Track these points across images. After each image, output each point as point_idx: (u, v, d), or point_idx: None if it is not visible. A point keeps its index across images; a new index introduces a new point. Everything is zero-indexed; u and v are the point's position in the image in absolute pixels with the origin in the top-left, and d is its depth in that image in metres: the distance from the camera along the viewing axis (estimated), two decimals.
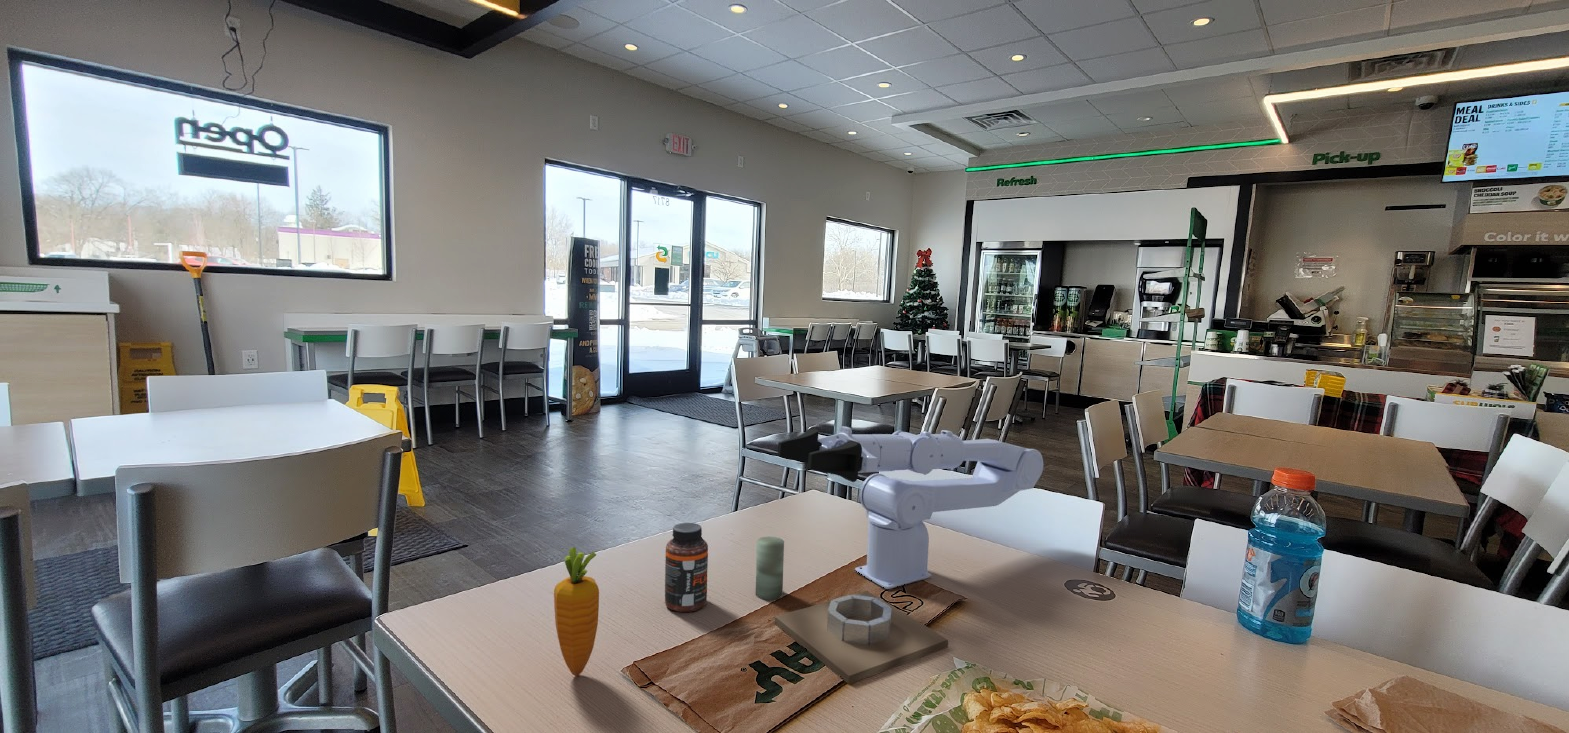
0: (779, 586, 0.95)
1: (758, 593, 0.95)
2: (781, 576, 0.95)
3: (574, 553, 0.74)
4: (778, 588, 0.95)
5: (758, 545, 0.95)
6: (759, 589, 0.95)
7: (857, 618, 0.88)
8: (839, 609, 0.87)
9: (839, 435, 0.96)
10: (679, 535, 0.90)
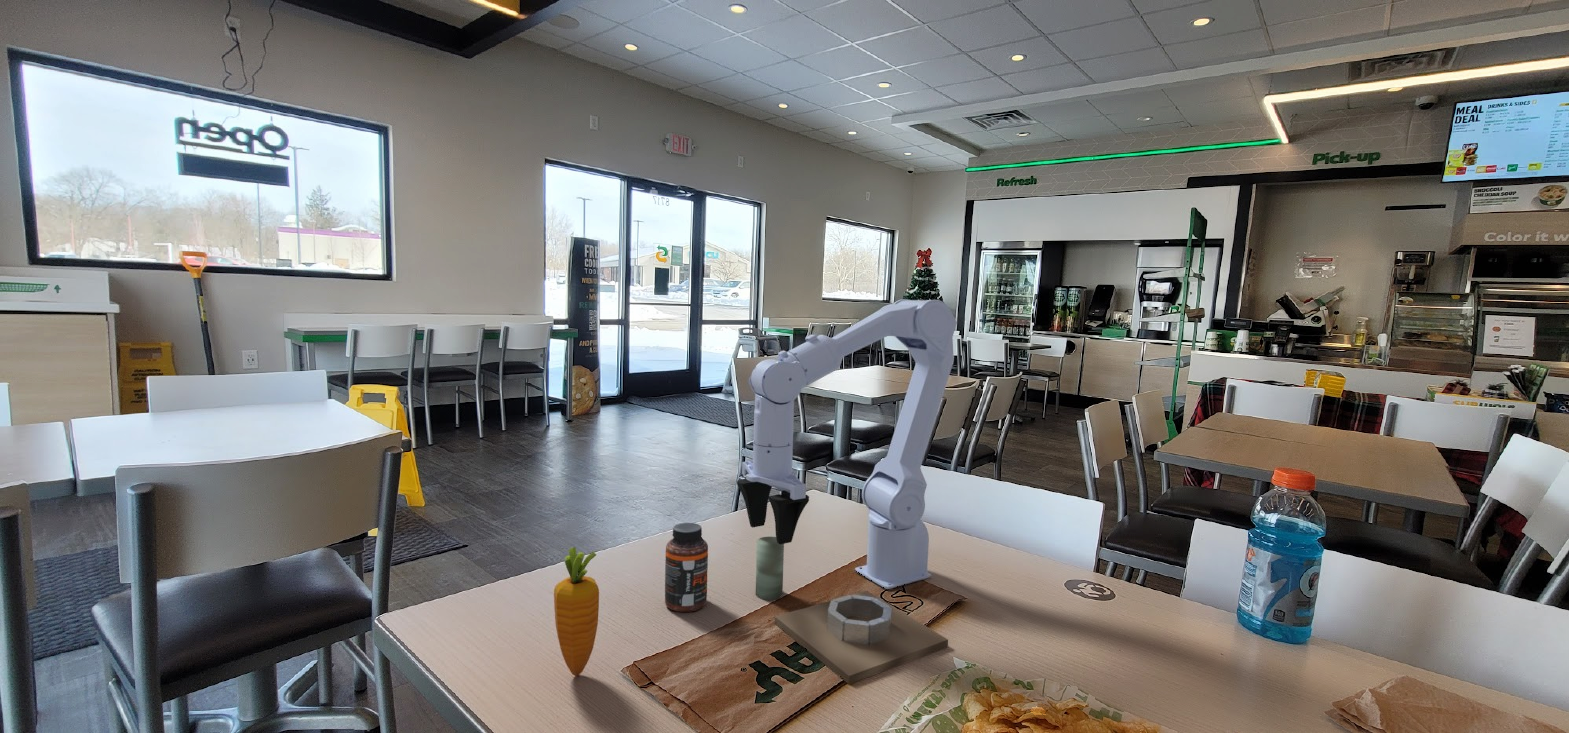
0: (779, 586, 0.95)
1: (758, 593, 0.95)
2: (781, 576, 0.95)
3: (574, 553, 0.74)
4: (778, 588, 0.95)
5: (758, 545, 0.95)
6: (759, 589, 0.95)
7: (857, 618, 0.88)
8: (839, 609, 0.87)
9: None
10: (679, 535, 0.90)
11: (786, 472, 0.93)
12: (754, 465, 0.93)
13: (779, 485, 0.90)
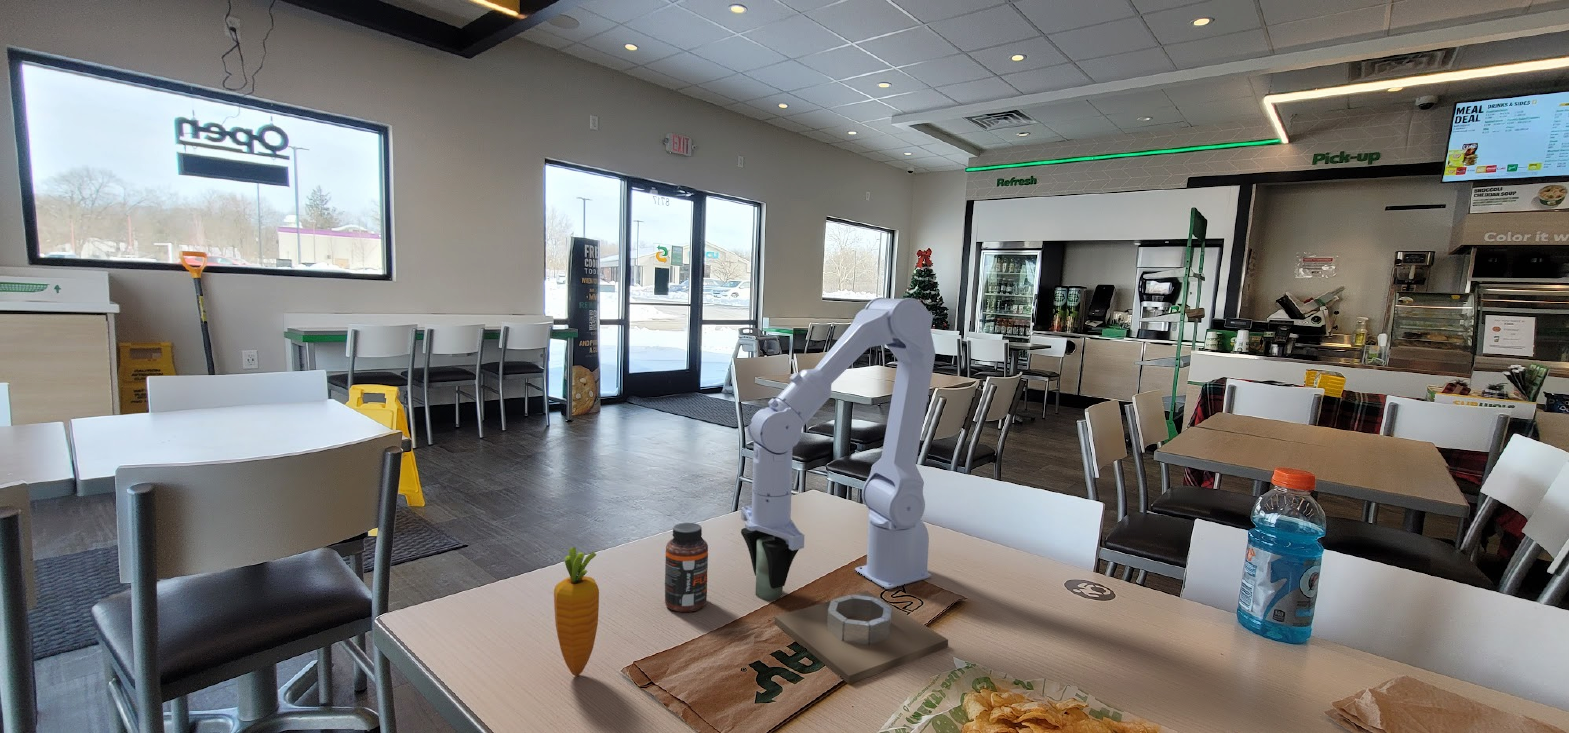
0: None
1: (758, 593, 0.95)
2: None
3: (573, 553, 0.74)
4: (778, 588, 0.95)
5: (758, 545, 0.95)
6: (759, 589, 0.95)
7: (857, 618, 0.88)
8: (839, 609, 0.87)
9: None
10: (679, 535, 0.90)
11: (785, 521, 0.93)
12: (753, 513, 0.94)
13: (778, 535, 0.91)
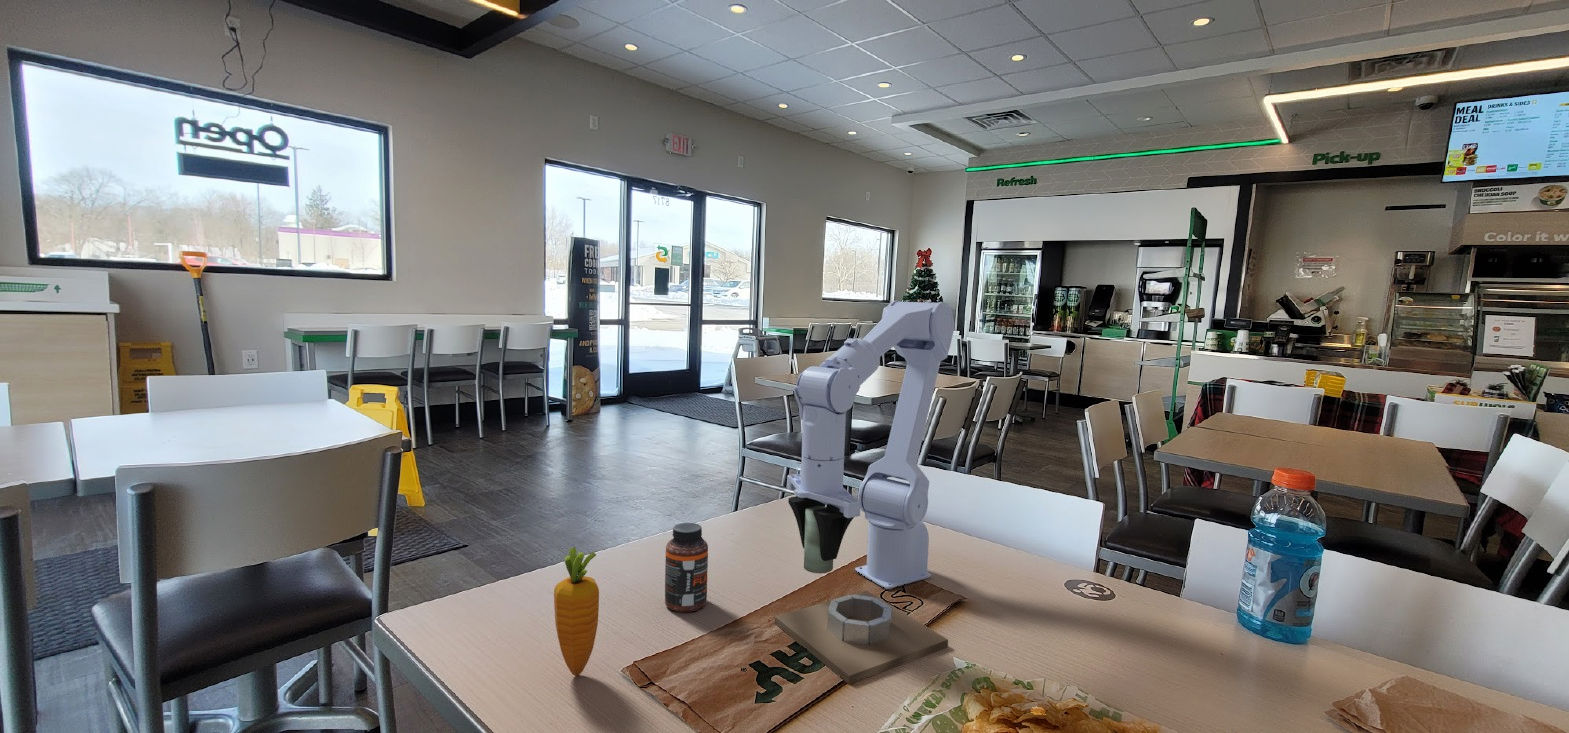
0: None
1: (807, 566, 0.88)
2: None
3: (573, 553, 0.74)
4: (829, 560, 0.88)
5: (807, 514, 0.88)
6: (808, 562, 0.88)
7: (857, 618, 0.88)
8: (839, 609, 0.87)
9: None
10: (679, 535, 0.90)
11: (838, 487, 0.86)
12: (803, 480, 0.87)
13: (831, 502, 0.84)
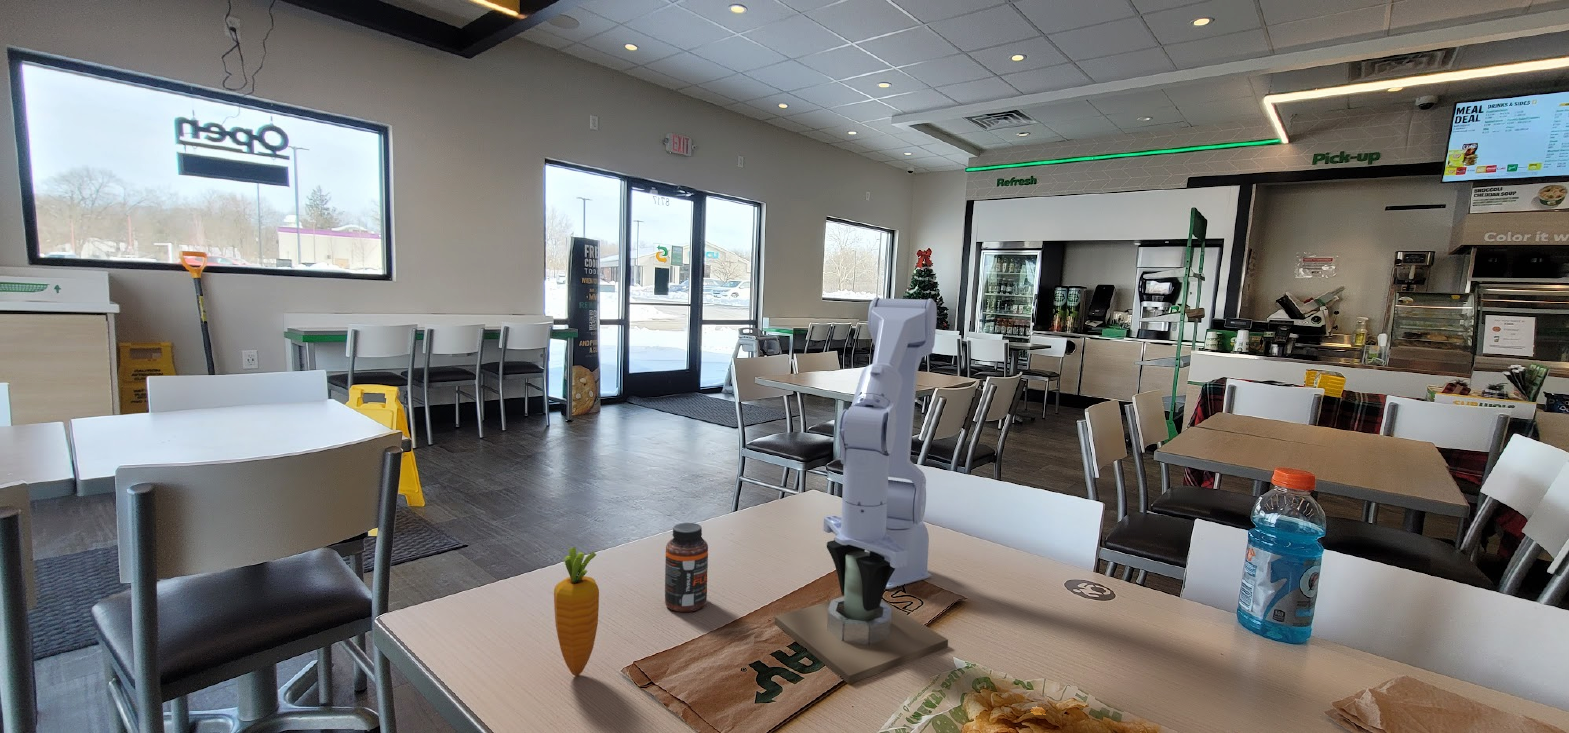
0: None
1: (848, 616, 0.84)
2: None
3: (573, 553, 0.74)
4: (871, 610, 0.83)
5: (848, 561, 0.83)
6: (849, 611, 0.83)
7: None
8: (839, 609, 0.87)
9: None
10: (679, 535, 0.90)
11: (881, 534, 0.82)
12: (844, 525, 0.82)
13: (876, 550, 0.79)
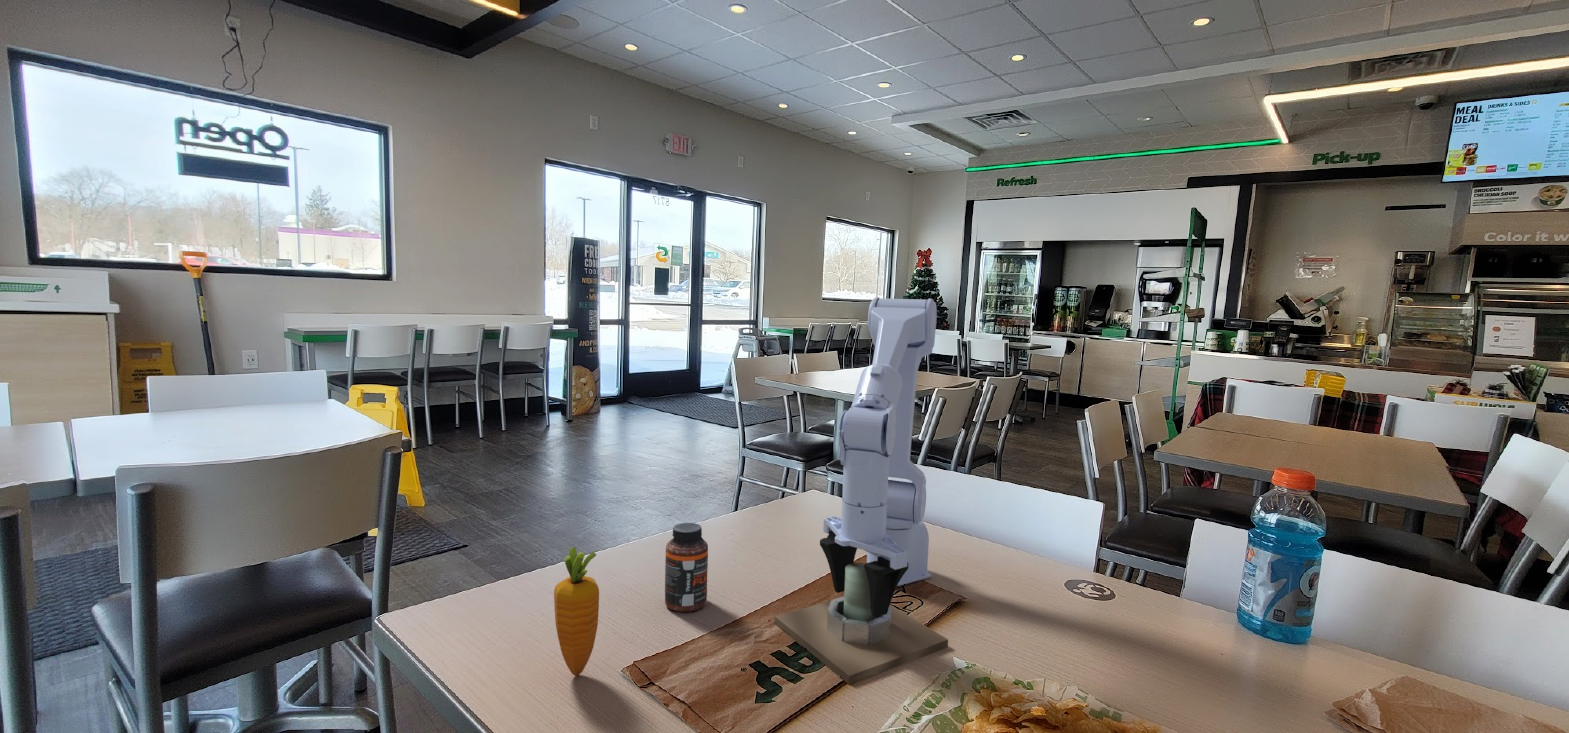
0: None
1: None
2: None
3: (574, 553, 0.74)
4: None
5: (848, 573, 0.83)
6: None
7: None
8: (839, 609, 0.87)
9: None
10: (679, 535, 0.90)
11: (881, 534, 0.82)
12: (844, 526, 0.83)
13: (876, 551, 0.79)
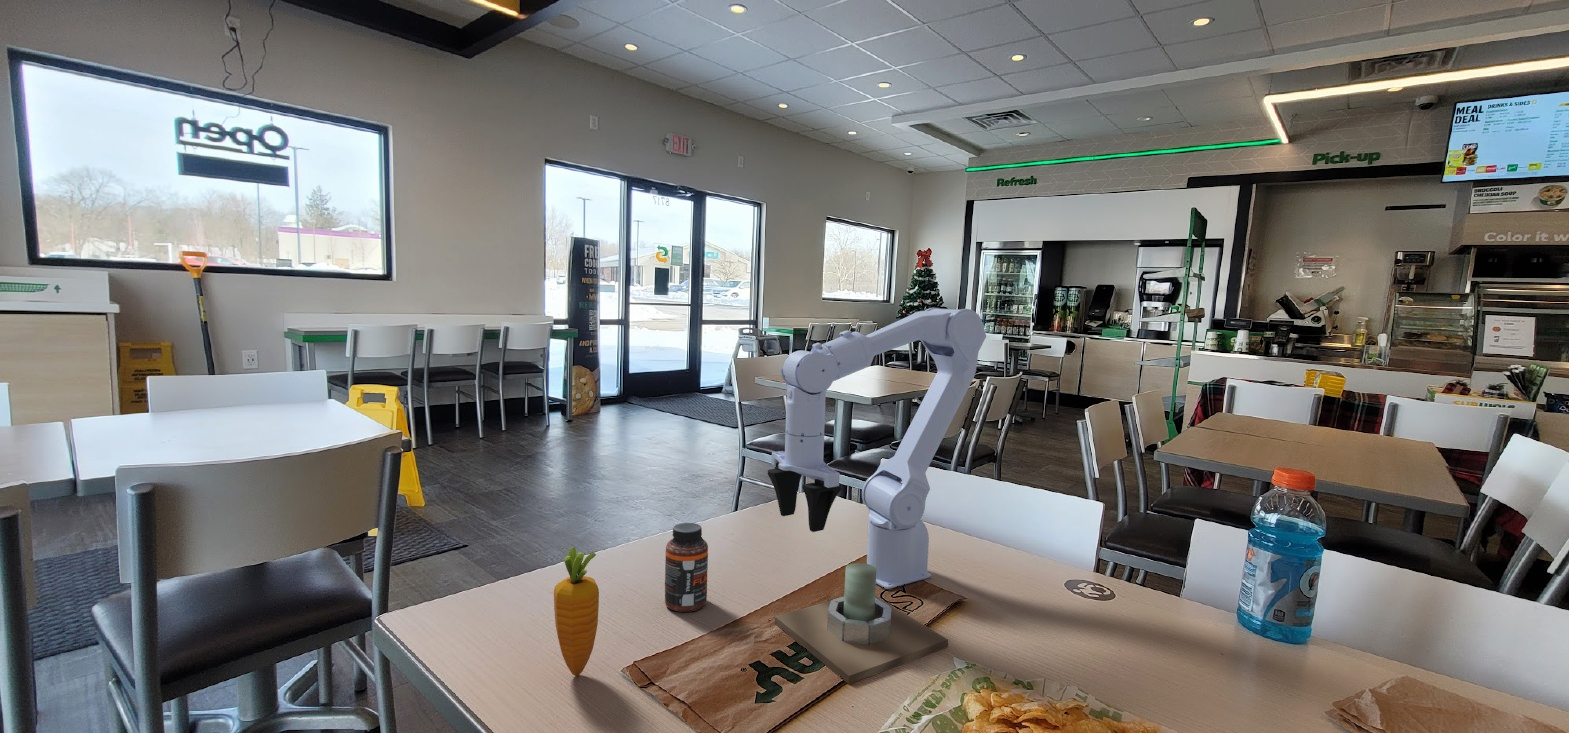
0: None
1: None
2: (873, 608, 0.84)
3: (573, 553, 0.74)
4: None
5: (848, 573, 0.83)
6: None
7: None
8: (839, 609, 0.87)
9: None
10: (679, 535, 0.90)
11: (818, 461, 0.94)
12: (786, 454, 0.95)
13: (813, 473, 0.92)
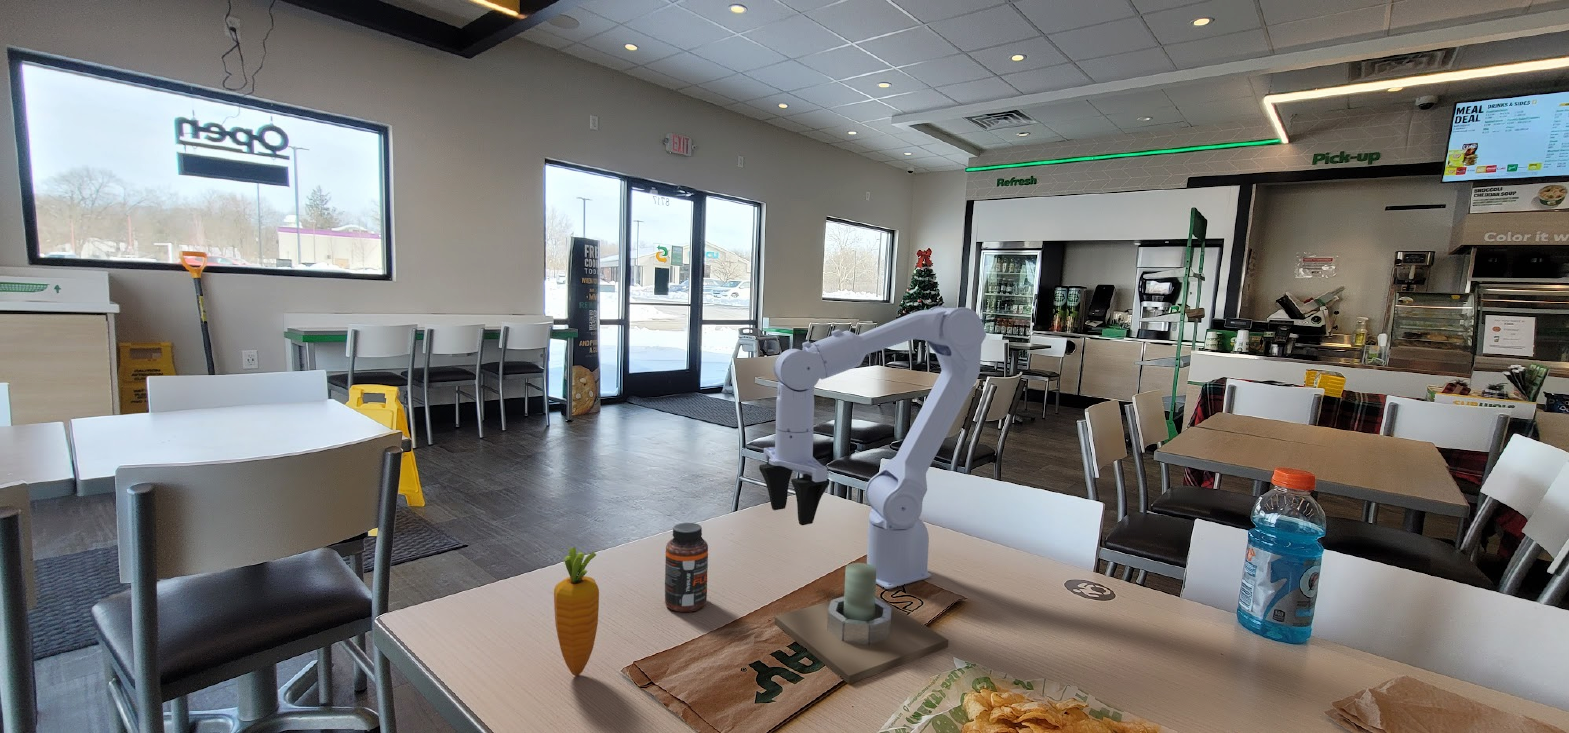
0: None
1: None
2: (873, 608, 0.84)
3: (573, 553, 0.74)
4: None
5: (848, 573, 0.83)
6: None
7: None
8: (839, 609, 0.87)
9: None
10: (679, 535, 0.90)
11: (808, 456, 0.97)
12: (776, 450, 0.97)
13: (801, 468, 0.94)
